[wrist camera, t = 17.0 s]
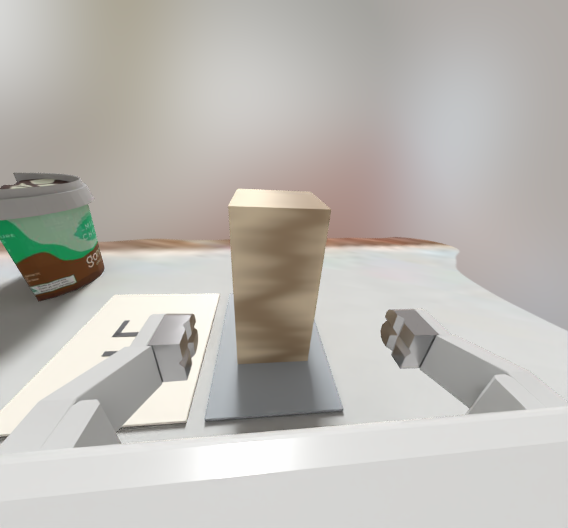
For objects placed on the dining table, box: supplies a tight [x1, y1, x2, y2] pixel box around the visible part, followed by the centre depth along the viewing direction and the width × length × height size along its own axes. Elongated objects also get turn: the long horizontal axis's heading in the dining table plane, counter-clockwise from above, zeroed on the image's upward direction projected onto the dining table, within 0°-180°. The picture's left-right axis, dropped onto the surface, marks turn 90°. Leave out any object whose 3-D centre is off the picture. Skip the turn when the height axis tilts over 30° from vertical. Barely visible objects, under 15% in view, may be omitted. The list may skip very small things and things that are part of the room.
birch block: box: [228, 189, 331, 364], centre depth 15 cm, size 5×5×11 cm
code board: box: [0, 293, 343, 437], centre depth 17 cm, size 19×12×1 cm, turn 96°
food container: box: [0, 173, 104, 301], centre depth 23 cm, size 12×6×10 cm, turn 37°
